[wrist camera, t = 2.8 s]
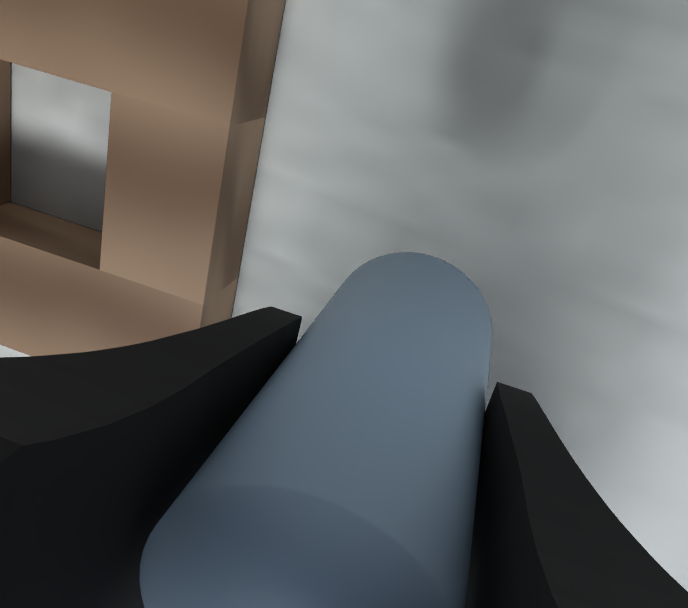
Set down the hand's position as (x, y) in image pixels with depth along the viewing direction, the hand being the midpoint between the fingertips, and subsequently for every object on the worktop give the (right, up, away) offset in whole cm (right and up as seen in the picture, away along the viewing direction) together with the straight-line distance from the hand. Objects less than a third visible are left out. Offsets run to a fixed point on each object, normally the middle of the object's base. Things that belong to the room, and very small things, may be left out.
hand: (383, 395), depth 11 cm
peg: (+1, +1, +3) cm, 3 cm away
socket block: (-9, +7, +9) cm, 14 cm away
